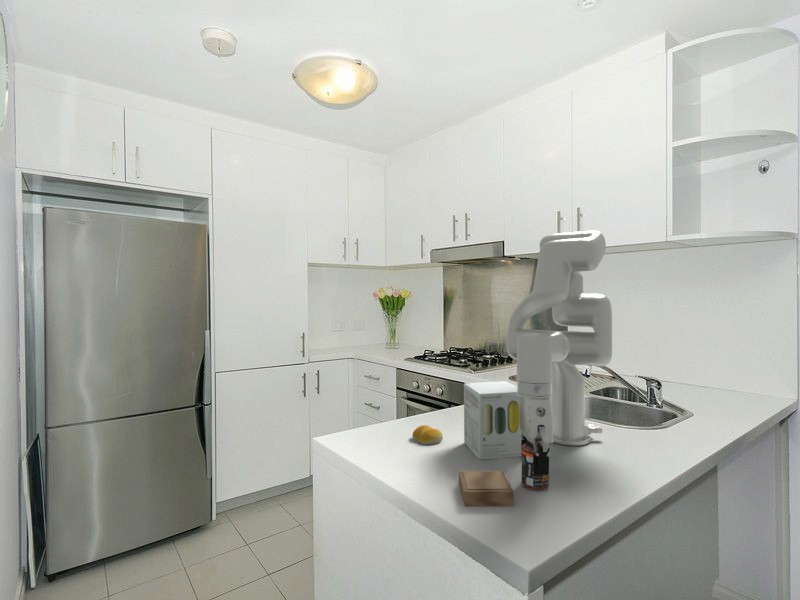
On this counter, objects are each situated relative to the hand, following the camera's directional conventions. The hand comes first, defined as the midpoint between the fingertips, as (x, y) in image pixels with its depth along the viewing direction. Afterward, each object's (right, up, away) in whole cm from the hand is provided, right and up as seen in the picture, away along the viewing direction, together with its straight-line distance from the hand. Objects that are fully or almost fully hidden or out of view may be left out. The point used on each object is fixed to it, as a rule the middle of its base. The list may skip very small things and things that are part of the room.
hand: (534, 464), depth 96 cm
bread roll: (-22, -5, +31) cm, 39 cm away
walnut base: (-12, -5, -3) cm, 13 cm away
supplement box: (-4, -5, +23) cm, 23 cm away
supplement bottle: (0, -5, +1) cm, 5 cm away
